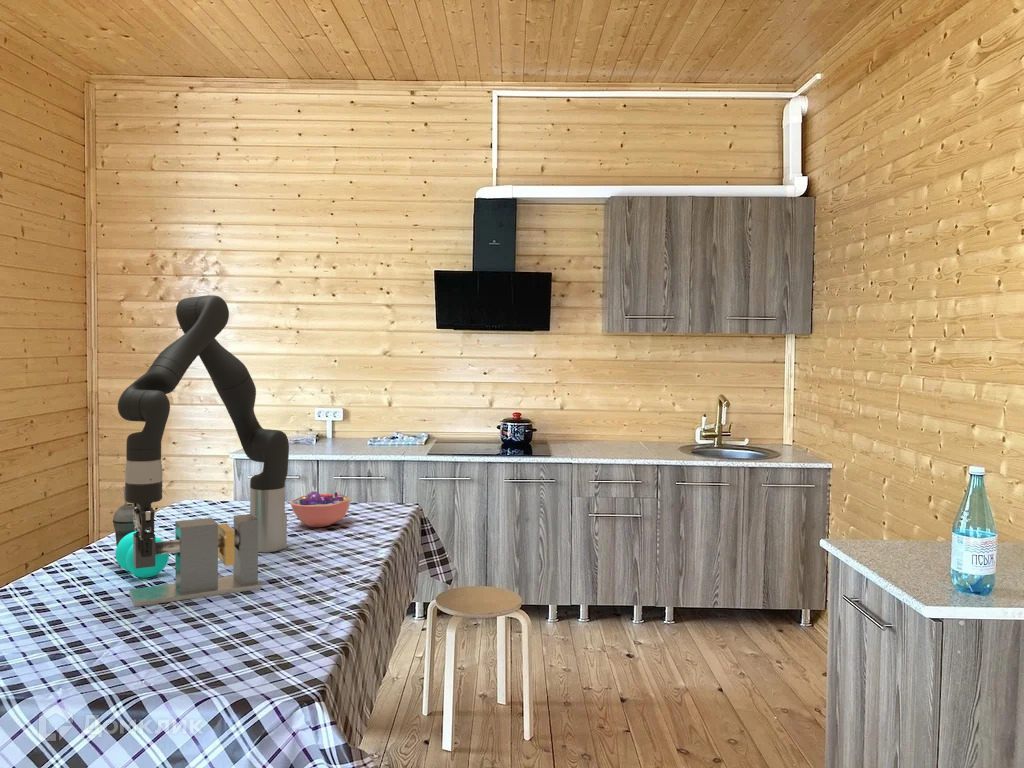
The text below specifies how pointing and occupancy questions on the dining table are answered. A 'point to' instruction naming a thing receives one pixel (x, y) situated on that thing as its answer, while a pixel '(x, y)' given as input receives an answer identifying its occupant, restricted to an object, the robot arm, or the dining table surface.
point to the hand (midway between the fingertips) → (143, 552)
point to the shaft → (163, 549)
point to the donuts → (126, 558)
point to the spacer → (226, 544)
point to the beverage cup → (123, 520)
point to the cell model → (320, 508)
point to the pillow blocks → (206, 563)
